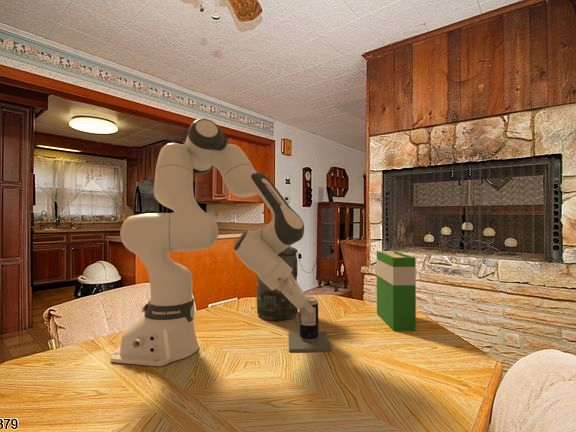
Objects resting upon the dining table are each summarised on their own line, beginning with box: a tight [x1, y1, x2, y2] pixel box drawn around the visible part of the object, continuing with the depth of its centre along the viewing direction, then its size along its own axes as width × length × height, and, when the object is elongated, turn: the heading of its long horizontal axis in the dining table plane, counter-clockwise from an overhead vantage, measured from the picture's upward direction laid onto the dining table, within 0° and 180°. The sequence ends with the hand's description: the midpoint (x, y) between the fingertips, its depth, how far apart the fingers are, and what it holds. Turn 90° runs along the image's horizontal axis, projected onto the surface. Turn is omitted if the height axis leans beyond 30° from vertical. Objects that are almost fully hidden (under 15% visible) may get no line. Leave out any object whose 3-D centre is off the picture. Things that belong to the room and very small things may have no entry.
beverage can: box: [298, 296, 319, 341], centre depth 94 cm, size 6×6×12 cm
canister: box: [256, 245, 299, 321], centre depth 119 cm, size 16×16×28 cm
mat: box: [287, 330, 333, 353], centre depth 94 cm, size 12×13×1 cm
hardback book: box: [376, 250, 417, 332], centre depth 111 cm, size 18×7×24 cm, turn 1°
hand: (310, 306), depth 94 cm, fingers closed on beverage can, 6 cm apart
